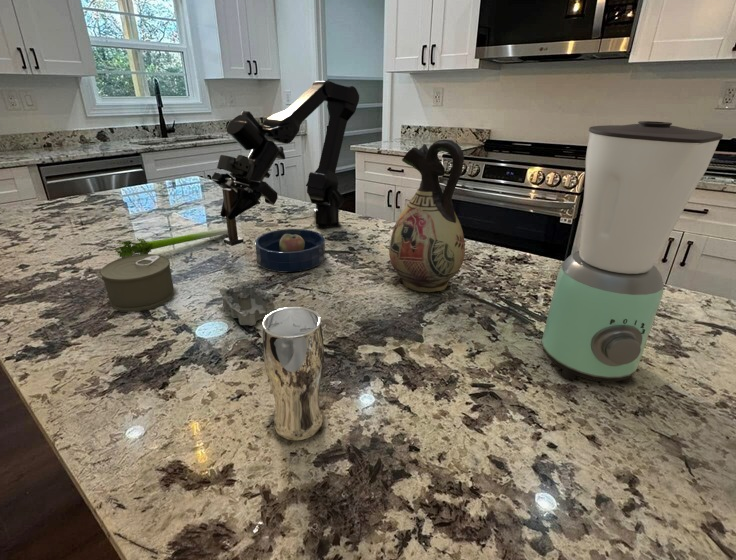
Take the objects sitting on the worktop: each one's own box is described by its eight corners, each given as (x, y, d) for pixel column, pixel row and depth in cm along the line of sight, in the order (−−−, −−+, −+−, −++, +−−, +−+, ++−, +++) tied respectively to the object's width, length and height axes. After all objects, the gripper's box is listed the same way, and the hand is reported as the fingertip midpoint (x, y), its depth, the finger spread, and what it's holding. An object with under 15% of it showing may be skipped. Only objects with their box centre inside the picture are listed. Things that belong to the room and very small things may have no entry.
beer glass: (273, 404, 56) (263, 306, 49) (325, 401, 56) (322, 304, 50) (267, 445, 49) (256, 339, 43) (326, 442, 50) (323, 336, 44)
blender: (662, 401, 56) (773, 130, 42) (561, 396, 57) (635, 129, 43) (597, 326, 74) (659, 116, 59) (520, 323, 74) (562, 115, 60)
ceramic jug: (372, 284, 88) (376, 137, 76) (414, 263, 99) (424, 130, 86) (441, 312, 78) (459, 146, 65) (480, 285, 88) (502, 138, 76)
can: (94, 306, 80) (85, 273, 77) (143, 280, 90) (136, 250, 87) (143, 317, 76) (135, 283, 73) (188, 289, 86) (182, 258, 83)
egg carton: (279, 317, 76) (278, 298, 74) (240, 330, 72) (237, 310, 70) (256, 295, 84) (254, 276, 82) (219, 305, 80) (216, 286, 78)
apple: (270, 260, 99) (268, 237, 96) (292, 250, 105) (291, 227, 103) (289, 266, 96) (288, 242, 93) (311, 255, 102) (310, 232, 100)
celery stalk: (237, 243, 115) (123, 268, 94) (223, 240, 119) (111, 264, 98) (234, 221, 113) (117, 241, 92) (220, 219, 118) (106, 238, 96)
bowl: (318, 244, 110) (317, 226, 108) (331, 269, 95) (330, 249, 93) (255, 250, 106) (253, 231, 104) (259, 276, 92) (257, 255, 90)
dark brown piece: (235, 239, 103) (229, 186, 97) (243, 242, 101) (237, 189, 95) (223, 242, 100) (216, 189, 95) (232, 246, 98) (225, 191, 93)
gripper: (212, 137, 99) (177, 191, 96) (263, 144, 88) (225, 206, 85) (243, 165, 108) (212, 216, 104) (292, 175, 97) (259, 232, 94)
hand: (225, 217), depth 97 cm, fingers closed on dark brown piece, 2 cm apart
